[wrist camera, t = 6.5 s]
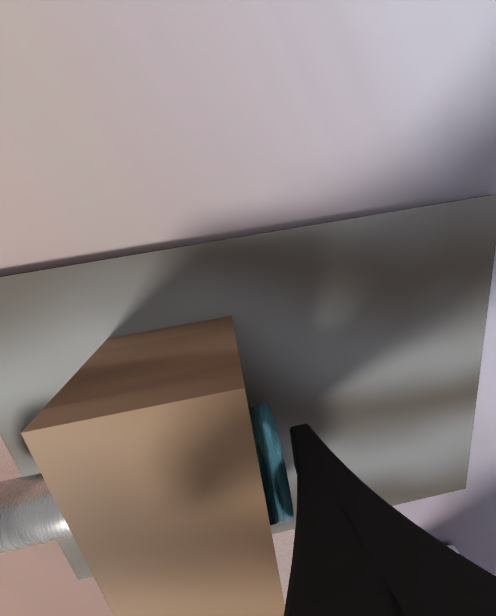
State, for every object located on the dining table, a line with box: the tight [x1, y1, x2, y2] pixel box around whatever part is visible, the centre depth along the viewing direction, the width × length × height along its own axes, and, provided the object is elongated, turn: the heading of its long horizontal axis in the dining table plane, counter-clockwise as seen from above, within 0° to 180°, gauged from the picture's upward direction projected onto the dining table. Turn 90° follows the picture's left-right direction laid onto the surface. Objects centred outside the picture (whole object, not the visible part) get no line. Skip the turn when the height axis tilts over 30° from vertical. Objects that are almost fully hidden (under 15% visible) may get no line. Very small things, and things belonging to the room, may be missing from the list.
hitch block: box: [0, 195, 496, 616], centre depth 11 cm, size 16×22×6 cm
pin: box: [0, 401, 294, 554], centre depth 10 cm, size 4×12×4 cm, turn 99°
